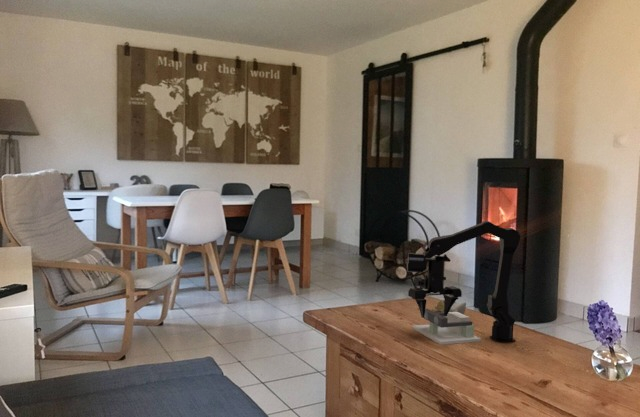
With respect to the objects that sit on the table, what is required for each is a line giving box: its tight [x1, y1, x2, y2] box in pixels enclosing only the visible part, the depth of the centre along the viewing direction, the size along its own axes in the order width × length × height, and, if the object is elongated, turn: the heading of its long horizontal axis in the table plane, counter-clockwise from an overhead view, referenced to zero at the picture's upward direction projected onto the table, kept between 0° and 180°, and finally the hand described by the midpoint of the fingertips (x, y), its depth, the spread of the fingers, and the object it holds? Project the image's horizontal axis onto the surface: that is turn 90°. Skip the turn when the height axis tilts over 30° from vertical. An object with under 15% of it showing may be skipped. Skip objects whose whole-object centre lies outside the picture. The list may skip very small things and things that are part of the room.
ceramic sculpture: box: [430, 298, 467, 315], centre depth 220 cm, size 11×9×15 cm
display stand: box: [412, 312, 482, 346], centre depth 195 cm, size 16×20×7 cm
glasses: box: [420, 308, 473, 328], centre depth 195 cm, size 12×14×3 cm
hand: (434, 316), depth 194 cm, fingers open, 9 cm apart
